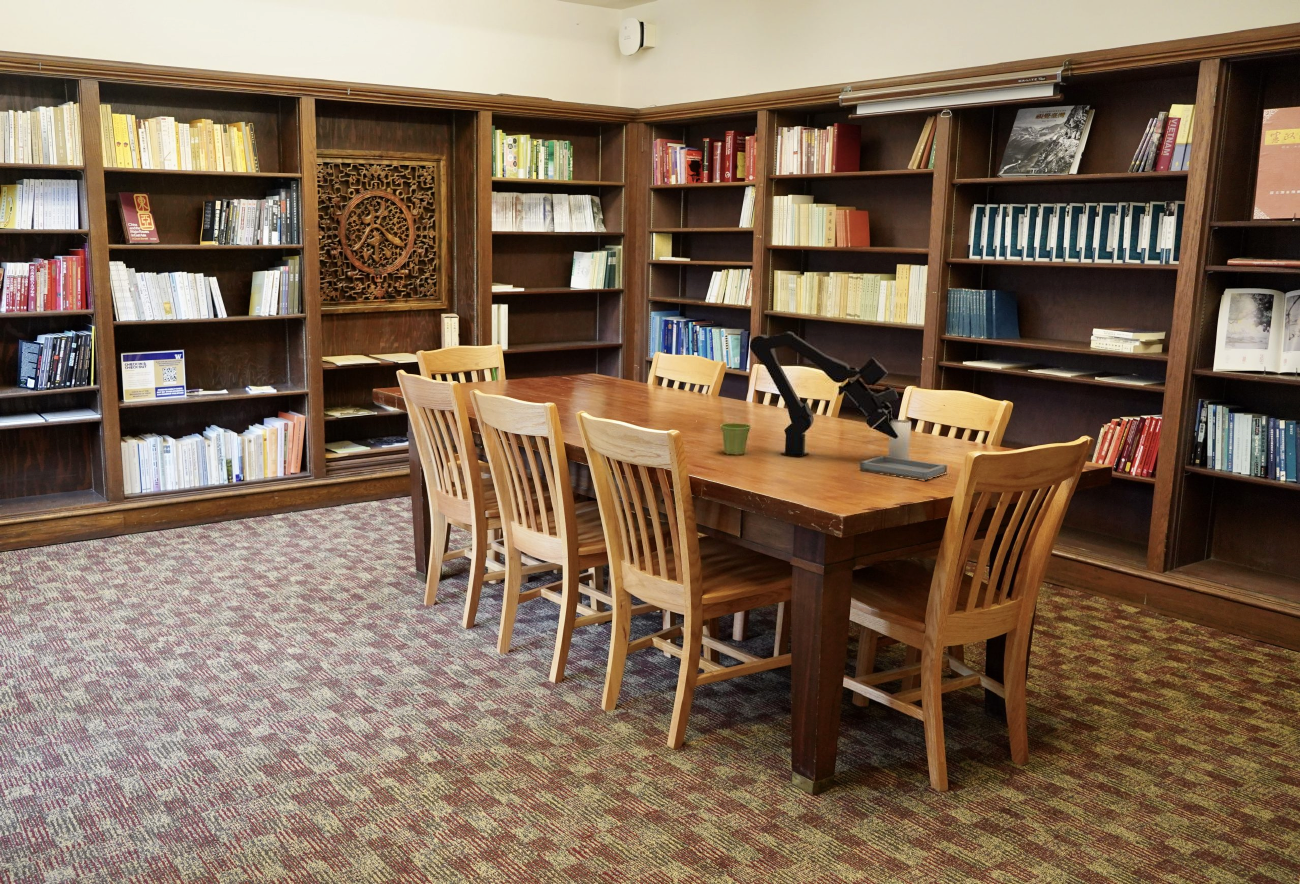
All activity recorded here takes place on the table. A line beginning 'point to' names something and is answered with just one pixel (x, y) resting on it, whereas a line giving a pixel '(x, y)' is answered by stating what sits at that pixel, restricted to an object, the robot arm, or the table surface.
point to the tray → (903, 467)
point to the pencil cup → (900, 439)
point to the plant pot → (735, 437)
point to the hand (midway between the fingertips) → (898, 435)
